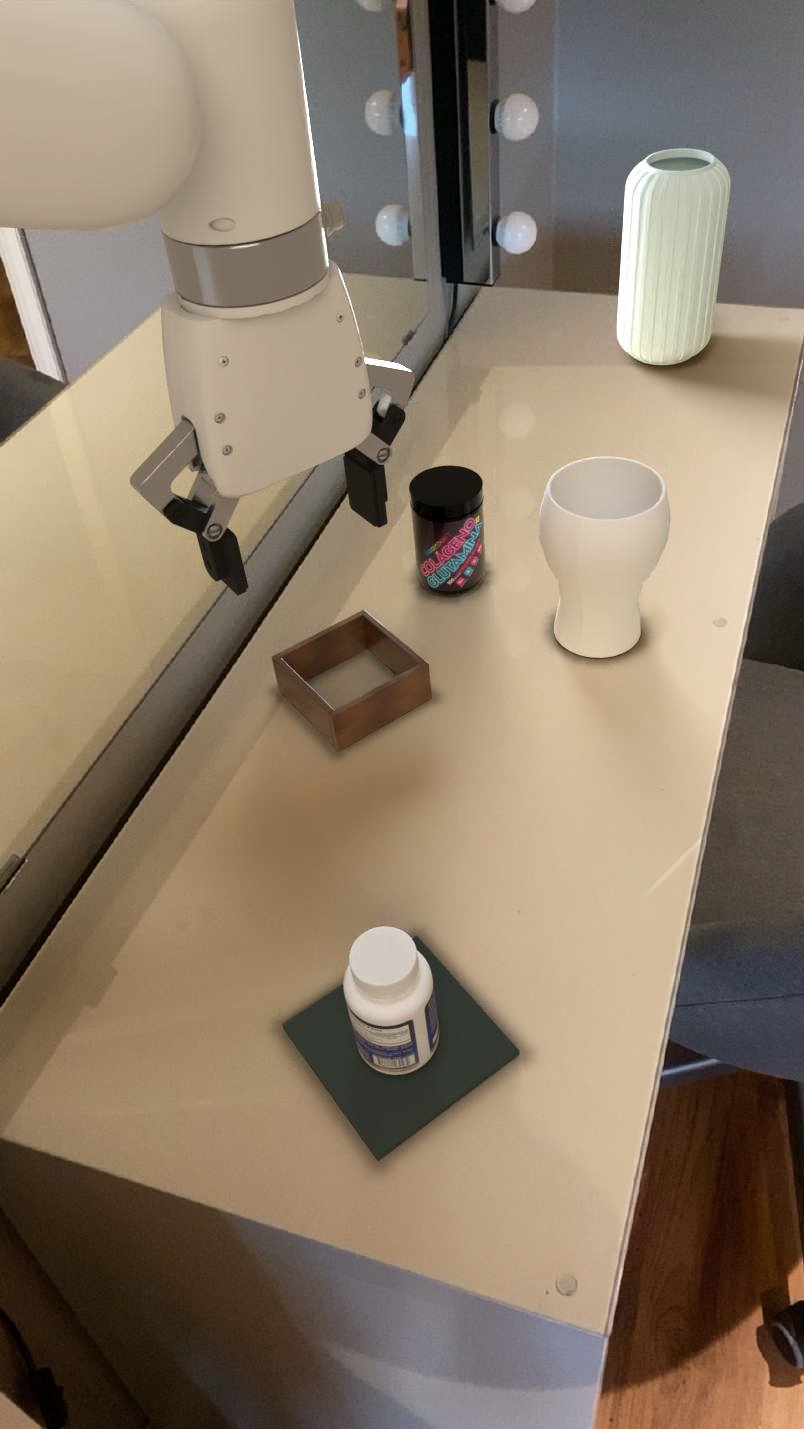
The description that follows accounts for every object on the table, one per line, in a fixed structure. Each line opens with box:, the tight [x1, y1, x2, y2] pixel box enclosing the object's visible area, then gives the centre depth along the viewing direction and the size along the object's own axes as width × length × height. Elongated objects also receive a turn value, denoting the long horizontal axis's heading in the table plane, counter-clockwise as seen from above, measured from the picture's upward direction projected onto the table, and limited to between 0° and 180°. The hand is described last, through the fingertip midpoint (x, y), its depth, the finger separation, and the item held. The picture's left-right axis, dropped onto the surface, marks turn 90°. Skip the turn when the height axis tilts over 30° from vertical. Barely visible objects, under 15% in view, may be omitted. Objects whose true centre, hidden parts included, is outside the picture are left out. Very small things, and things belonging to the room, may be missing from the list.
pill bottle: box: [342, 926, 439, 1075], centre depth 64 cm, size 5×5×10 cm
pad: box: [281, 935, 520, 1161], centre depth 67 cm, size 11×11×1 cm
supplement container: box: [408, 464, 487, 597], centre depth 98 cm, size 7×7×10 cm
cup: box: [538, 455, 672, 659], centre depth 89 cm, size 11×11×15 cm
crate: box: [271, 609, 433, 752], centre depth 90 cm, size 10×10×4 cm
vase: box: [616, 147, 732, 366], centre depth 124 cm, size 12×12×22 cm
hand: (301, 549), depth 62 cm, fingers open, 9 cm apart
